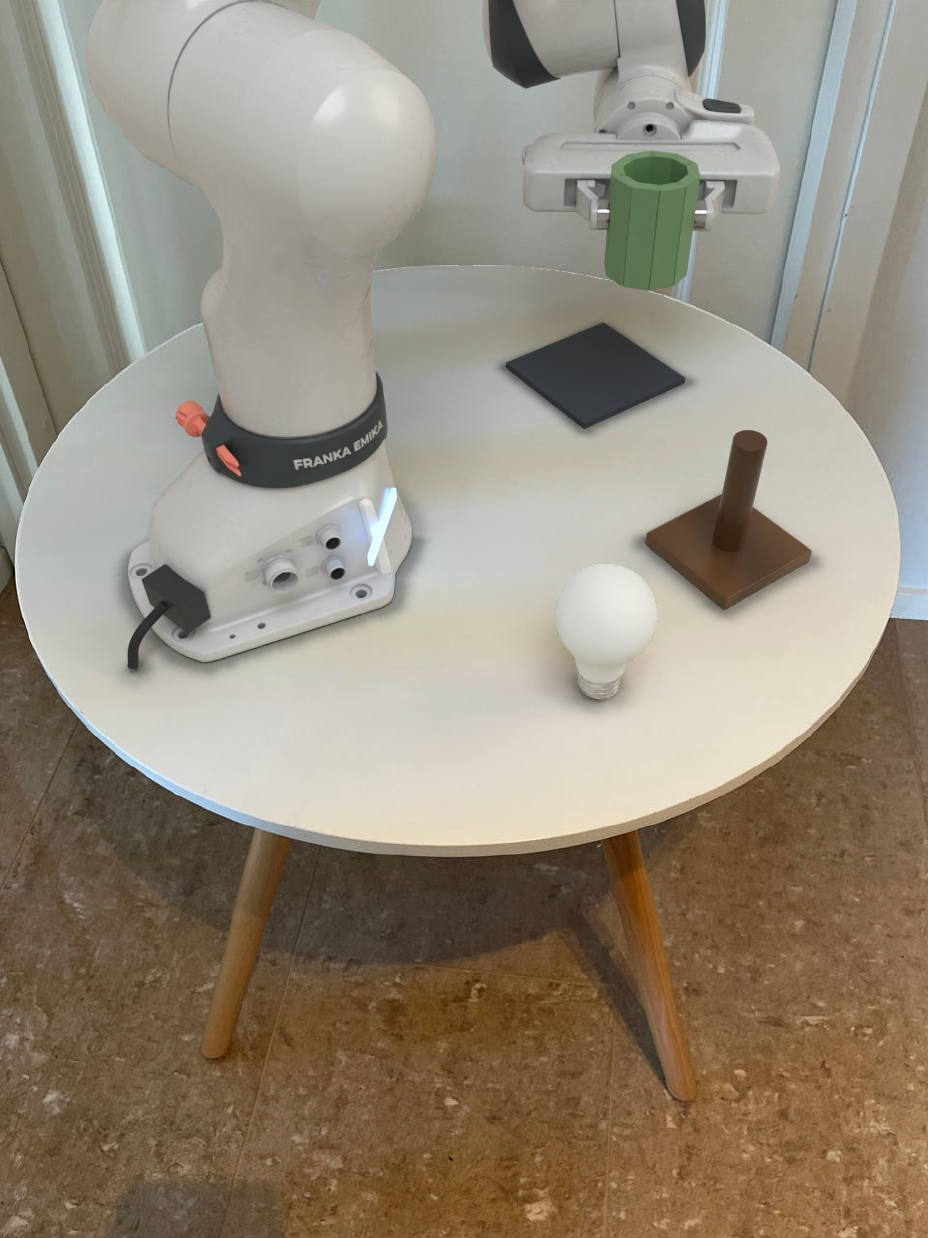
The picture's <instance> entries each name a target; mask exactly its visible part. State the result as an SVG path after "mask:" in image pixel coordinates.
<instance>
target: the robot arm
mask: <svg viewBox="0 0 928 1238" xmlns="http://www.w3.org/2000/svg"><path fill="white" fill-rule="evenodd" d="M321 1H322V0H102V2H101V3H100V4H99V6H98V8H97V10H96V11H95V13H94V16H93V18H92V20H91V23H90V26H89V30H88V34H87V41H86V49H85V57H86V59H85V60H86V71H87V75H88V81H89V83H90V86H91V89H92V92H93V94H94V96H95V99H96V100H97V102H98V104H99V105H100V107H101V108H102V110H103V112H104V113H105V114H106V115H107V116H108V118H109V119H110V120H111V122H112V124H114V125H115V127H116V128H117V129H118V130H119V131H120V133H121V134H122V135H123V137H125V138H126V140H128V141H129V142H130V143H131V145H132V146H133V147H134V149H136V150H137V151H138V152H139V153H140V154H141V155H142V156H144V157H145V159H147V160H148V161H150V162H152V164H155V165H157V166H159V167H160V168H162V169H164V170H165V171H167V172H168V173H171V174H172V175H174V176H176V177H178V178H179V179H181V180H183V181H184V182H186V183H187V184H189V185H191V186H193V187H195V188H196V189H198V190H199V191H200V192H202V194H204V196H205V198H207V200H208V202H209V203H210V205H211V206H212V209H213V210H214V212H215V215H216V216H217V219H218V221H219V224H220V227H221V233H222V234H221V235H222V248H223V249H222V265H221V266H220V267H219V268H218V269H217V270H216V272H215V273H213V275H212V276H211V277H210V278H209V280H207V283H206V285H205V287H204V289H203V291H202V295H201V298H200V317H201V321H202V325H203V329H204V334H205V338H206V342H207V347H208V351H209V355H210V359H211V364H212V368H213V373H214V378H215V381H216V385H217V391H218V393H217V396H216V399H215V403H214V407H213V411H212V413H211V415H209V414H208V413H206V412H205V411H204V409H203V407H202V406H201V405H200V404H199V403H197V402H196V401H194V400H187V401H184V402H182V403H181V404H180V405H178V407H177V408H176V409H177V410H176V411H175V412H174V415H175V421H176V422H177V424H178V425H179V426H180V427H181V428H183V430H184V431H185V433H186V434H187V435H188V436H190V437H193V438H200V437H201V441H202V446H203V448H202V449H201V450H200V451H199V452H198V453H197V455H196V456H195V457H194V458H193V459H192V461H190V463H188V465H187V466H186V467H185V468H184V469H183V470H182V472H180V474H179V475H178V476H177V477H176V478H175V479H174V480H173V481H172V482H171V483H170V485H168V487H167V488H165V490H164V491H163V492H162V493H161V494H160V495H159V496H158V497H157V498H156V499H155V500H154V502H153V504H152V506H151V508H150V512H149V517H148V540H146V541H144V542H143V543H141V544H140V545H138V546H137V547H135V548H134V549H133V550H132V552H130V556H129V561H128V565H127V576H128V583H129V586H130V591H131V594H132V598H133V600H134V602H135V604H136V607H137V609H138V610H139V612H140V614H141V615H142V617H143V618H144V619H143V620H142V621H141V622H140V623H139V625H138V626H137V627H136V629H135V630H134V633H133V634H132V636H131V638H130V640H129V643H128V647H127V653H126V655H127V668H128V669H130V670H137V669H138V668H139V661H140V659H139V650H140V646H141V643H142V641H143V640H144V638H145V636H146V635H147V633H148V632H149V631H150V630H152V631H153V632H154V633H155V634H156V635H157V637H159V639H160V640H162V641H163V642H164V643H165V644H166V645H167V646H168V647H170V648H171V649H173V650H174V651H176V652H177V653H179V654H180V655H183V656H185V657H187V658H189V659H192V660H195V661H198V662H201V663H210V662H213V661H218V660H222V659H224V658H227V657H229V656H233V655H237V654H239V653H244V652H246V651H249V650H253V649H256V648H258V647H262V646H265V645H268V644H271V643H275V642H277V641H281V640H283V639H287V638H291V637H292V636H296V635H299V634H302V633H306V632H309V631H312V630H315V629H318V628H321V627H324V626H327V625H330V624H334V623H337V622H339V621H344V620H346V619H349V618H353V617H355V616H359V615H362V614H365V613H369V612H371V611H374V610H377V609H380V608H383V607H385V606H387V605H389V604H390V603H391V601H392V600H393V598H394V594H395V589H396V588H395V586H396V574H397V572H398V570H399V568H400V566H401V565H402V563H403V562H404V560H405V559H406V557H407V555H408V553H409V550H410V548H411V545H412V541H413V524H412V520H411V518H410V515H409V513H408V511H407V510H406V508H405V506H404V504H403V500H402V499H401V497H400V495H399V491H398V489H397V486H396V483H395V480H394V479H395V478H394V475H393V471H392V469H391V464H390V460H389V456H388V450H387V446H386V441H385V440H386V439H387V436H388V427H389V426H388V418H387V406H386V399H385V393H384V392H385V391H384V386H383V381H382V378H381V376H380V374H379V372H378V371H377V370H376V360H375V349H374V348H375V347H374V336H373V323H372V308H371V292H372V291H371V290H372V280H373V275H374V271H375V265H376V261H377V258H378V255H379V253H380V251H381V250H382V249H383V248H384V247H386V246H388V245H390V244H391V243H393V242H394V240H396V239H397V238H398V237H399V236H401V234H402V233H404V232H405V230H406V229H407V228H408V227H409V226H410V225H411V224H412V222H413V221H414V219H415V218H416V217H417V216H418V214H419V212H420V211H421V209H422V208H423V205H424V203H425V202H426V199H427V197H428V194H429V191H430V189H431V186H432V183H433V179H434V176H435V170H436V164H437V151H438V140H437V139H438V138H437V130H436V129H437V128H436V124H435V119H434V115H433V113H432V110H431V107H430V105H429V102H428V100H427V99H426V97H425V95H424V94H423V92H422V91H421V89H420V88H419V87H418V86H417V84H415V82H414V81H412V80H411V79H410V78H408V76H407V75H405V74H404V73H403V72H402V71H400V70H399V68H397V67H396V66H395V65H394V64H393V63H392V62H390V61H389V60H388V59H386V58H385V57H384V56H383V55H381V54H380V53H379V52H377V51H376V50H375V49H374V48H373V47H371V46H370V45H369V44H368V43H366V42H365V41H364V40H362V39H361V38H359V37H357V36H355V35H353V34H351V33H349V32H346V31H345V30H341V29H338V28H336V27H334V26H330V25H329V24H326V23H323V22H321V21H318V20H315V18H316V15H317V12H318V9H319V6H320V4H321ZM481 24H482V36H483V40H484V45H485V48H486V49H485V50H486V52H487V55H488V57H489V60H490V61H491V64H492V67H493V68H494V69H495V70H496V71H497V72H498V73H499V74H501V75H502V76H503V77H504V78H506V79H508V80H509V81H511V82H512V83H514V84H516V85H517V86H519V87H521V88H523V89H526V90H527V89H531V88H533V87H537V86H541V85H544V84H547V83H551V82H555V81H558V80H560V79H562V78H565V77H572V76H575V75H582V74H587V73H592V72H597V71H598V72H597V77H596V81H595V85H594V92H593V103H592V112H593V127H592V128H593V129H592V130H593V132H553V133H546V134H542V135H540V136H539V137H536V139H535V140H534V141H533V142H532V143H531V144H526V145H525V146H524V147H523V150H522V152H521V158H520V159H521V163H522V165H523V170H522V171H523V172H522V173H523V174H522V204H523V205H524V207H526V208H528V209H529V210H530V211H532V212H536V213H537V212H538V213H546V212H547V213H576V214H578V215H579V216H580V217H582V218H584V219H585V220H586V221H588V222H589V230H591V231H601V230H604V231H607V230H609V218H610V206H609V194H610V180H611V167H612V164H613V163H615V162H616V161H618V160H619V159H621V158H622V157H624V156H625V155H627V154H632V153H639V152H645V151H661V152H669V153H677V154H680V155H682V156H684V157H686V158H688V159H690V160H691V161H693V162H695V163H696V164H697V165H698V168H699V172H700V183H699V190H698V197H697V205H696V212H695V218H694V225H693V232H711V231H712V227H713V221H714V220H715V219H716V218H718V217H719V216H721V215H763V214H766V213H767V212H769V211H770V210H772V209H773V208H774V206H775V203H776V199H777V194H778V189H779V184H780V177H781V164H780V160H779V157H778V155H777V152H776V150H775V148H774V146H773V143H772V141H771V140H770V138H769V136H768V135H767V134H766V133H765V131H763V130H762V129H761V128H759V127H757V126H756V125H755V118H756V116H755V115H756V113H755V110H754V108H753V107H752V106H750V105H747V104H743V103H737V102H731V101H725V100H719V99H716V98H715V99H714V98H709V97H706V96H703V95H700V94H698V93H695V92H693V91H692V86H691V81H690V78H691V76H692V75H693V74H694V73H695V72H696V69H697V67H698V66H699V63H700V61H702V60H701V59H702V57H703V56H704V53H705V50H706V42H707V41H706V39H707V18H706V4H705V0H482V7H481Z"/></svg>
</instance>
